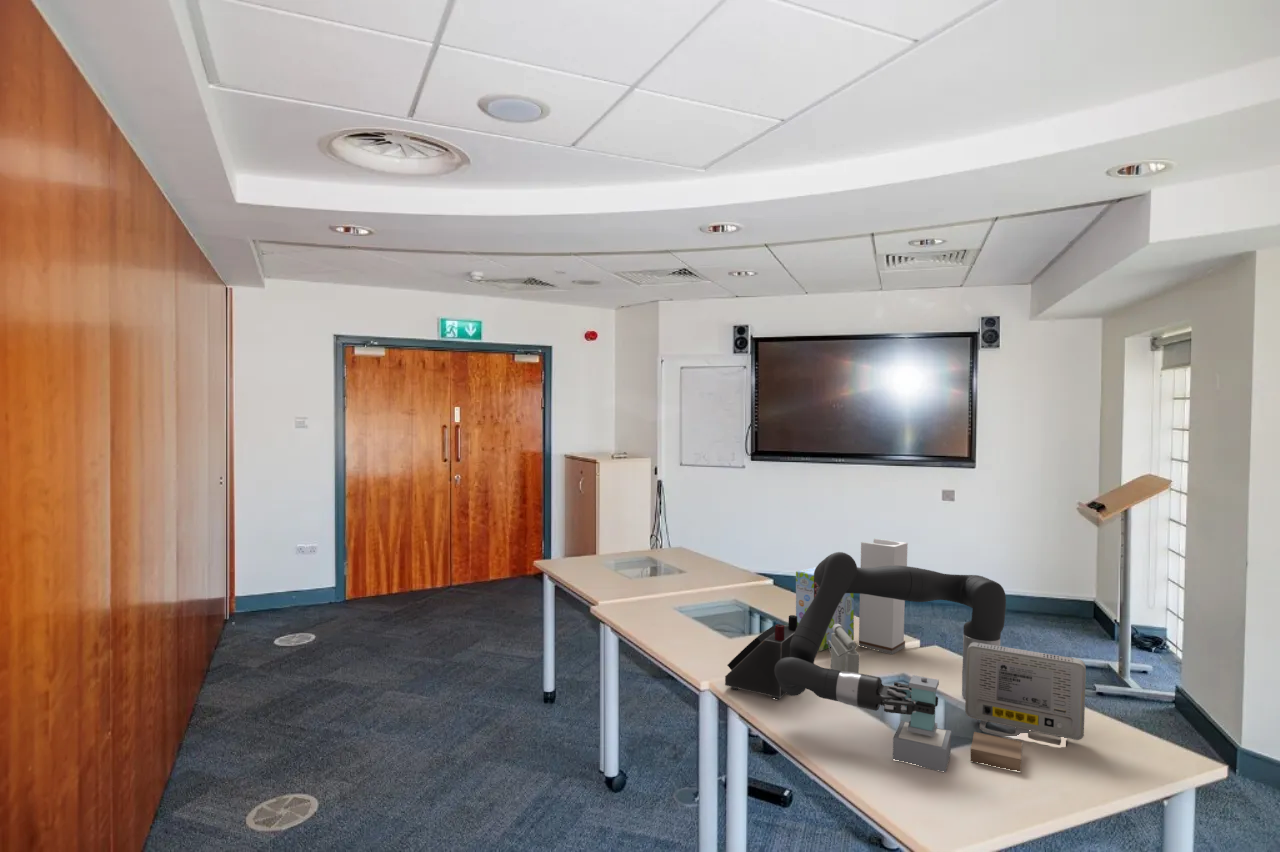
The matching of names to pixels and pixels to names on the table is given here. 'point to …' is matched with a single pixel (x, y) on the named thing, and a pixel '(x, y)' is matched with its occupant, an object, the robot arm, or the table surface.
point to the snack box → (807, 593)
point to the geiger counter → (843, 651)
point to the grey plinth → (922, 747)
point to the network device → (1025, 691)
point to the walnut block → (996, 751)
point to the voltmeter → (762, 661)
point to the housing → (926, 693)
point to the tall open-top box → (882, 600)
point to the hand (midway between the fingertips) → (935, 705)
